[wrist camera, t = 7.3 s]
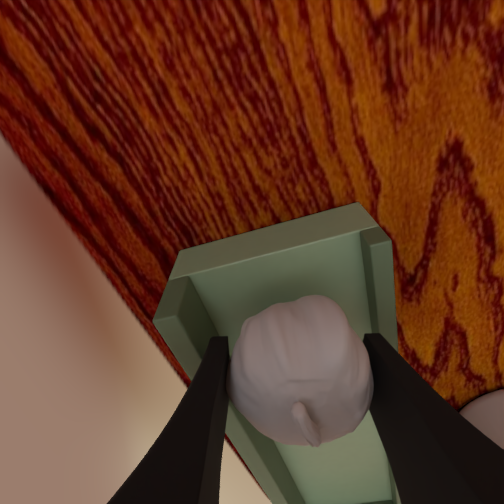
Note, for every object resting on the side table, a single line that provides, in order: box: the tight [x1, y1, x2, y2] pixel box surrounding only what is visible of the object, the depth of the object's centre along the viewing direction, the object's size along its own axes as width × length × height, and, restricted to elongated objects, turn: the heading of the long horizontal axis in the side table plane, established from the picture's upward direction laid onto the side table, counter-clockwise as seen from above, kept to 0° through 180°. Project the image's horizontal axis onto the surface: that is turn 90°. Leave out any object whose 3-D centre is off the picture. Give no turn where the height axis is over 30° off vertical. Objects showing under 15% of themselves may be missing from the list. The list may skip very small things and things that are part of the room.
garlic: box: [226, 295, 374, 447], centre depth 11 cm, size 6×5×5 cm
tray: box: [153, 202, 401, 504], centre depth 19 cm, size 28×9×5 cm, turn 17°
